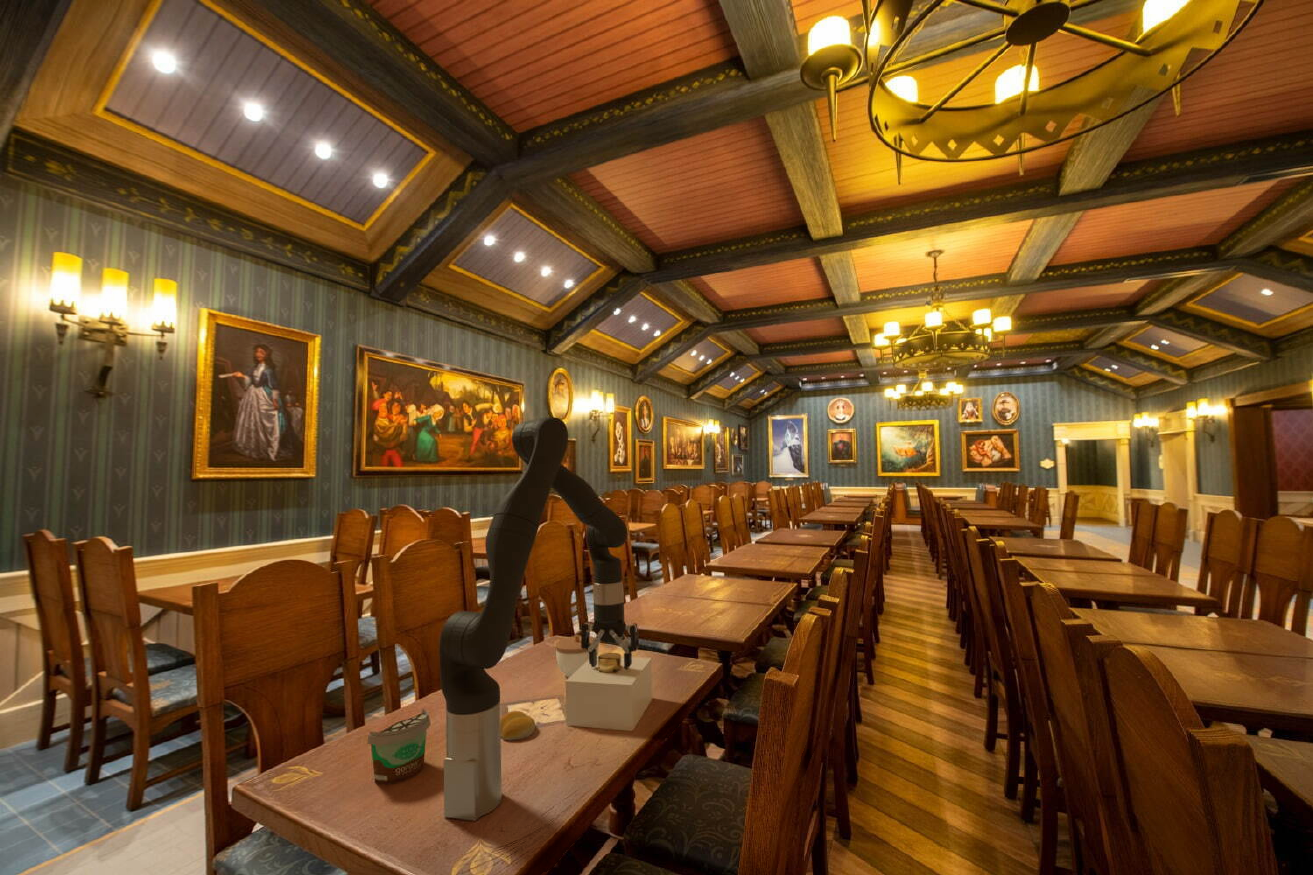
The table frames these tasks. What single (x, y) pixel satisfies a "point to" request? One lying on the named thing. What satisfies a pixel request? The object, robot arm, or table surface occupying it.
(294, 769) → the table surface
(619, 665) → the brass-head pin
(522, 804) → the table surface
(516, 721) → the bread roll
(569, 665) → the lidded bowl
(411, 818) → the table surface
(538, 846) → the table surface
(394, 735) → the food container
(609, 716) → the pin block
